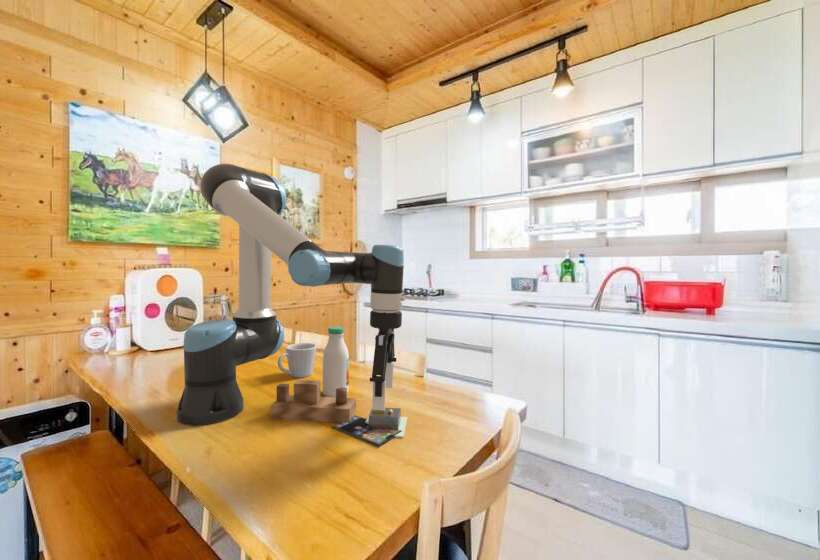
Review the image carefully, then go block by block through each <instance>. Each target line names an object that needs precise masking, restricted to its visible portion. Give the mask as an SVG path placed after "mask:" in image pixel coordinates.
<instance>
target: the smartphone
mask: <svg viewBox="0 0 820 560" xmlns="http://www.w3.org/2000/svg"><path fill="white" fill-rule="evenodd" d="M366 420H367V418H364V417H362V416H358V415H355V414H354V416H353V417H352V418H351V420H350V422H344V421H343V422H337V423H336V424H333V425H332V426H331V429H334V430H337V431H338V432H340V433H343V434H346V435H348V436H350V437H353V438H355V439H358V440H360V441H363V442H365V443H367V444H370V445H372V446H375V447H377V448H381V447H382V446H384V445H386V444H387V443H389V442H390V441H392V440H394V439H395V435H397V434H398V433H400V432H402V431H401V430H384V429H369V421H368V422H366Z"/></svg>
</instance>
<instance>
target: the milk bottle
mask: <svg viewBox="0 0 820 560" xmlns="http://www.w3.org/2000/svg"><path fill="white" fill-rule="evenodd" d="M327 329H328V330H327V332H328V333H327V335H328V340H327V343H326V346H325V348H324V351H323V354H322V394H323V395H324V397H336V389H337V388H347V394H348V393H349V392H350V390H349V388H350V384H349V383H350V382H349V381H350V358H349V356H350V355H349V350H348V347H347V345H346V343H345V340H344V335H345V334H344V332H345V328H344V327H343V326H339V325H338V326H330V327H328V328H327Z"/></svg>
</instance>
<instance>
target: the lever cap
mask: <svg viewBox="0 0 820 560" xmlns="http://www.w3.org/2000/svg"><path fill="white" fill-rule="evenodd" d="M368 415H369V429H384V430H398V429H399V425H400V418H401V417H402V416H401V415H402V414H401V408H399V407H385V410H372V409H371V410H370V412H369V414H368Z"/></svg>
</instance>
